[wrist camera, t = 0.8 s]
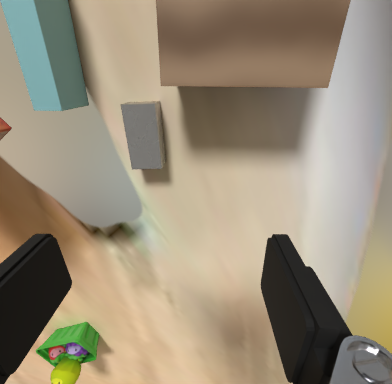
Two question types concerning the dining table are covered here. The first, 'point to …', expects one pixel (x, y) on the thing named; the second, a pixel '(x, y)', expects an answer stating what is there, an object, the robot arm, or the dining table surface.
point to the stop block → (47, 52)
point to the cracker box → (4, 128)
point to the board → (249, 42)
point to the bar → (144, 134)
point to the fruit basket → (69, 351)
